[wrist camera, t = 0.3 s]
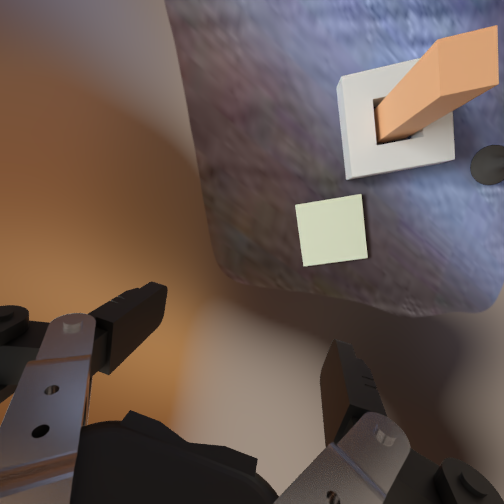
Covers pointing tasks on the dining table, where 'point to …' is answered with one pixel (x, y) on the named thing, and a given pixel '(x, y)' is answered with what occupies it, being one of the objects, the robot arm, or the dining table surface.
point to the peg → (439, 83)
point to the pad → (332, 230)
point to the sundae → (488, 165)
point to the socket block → (364, 135)
